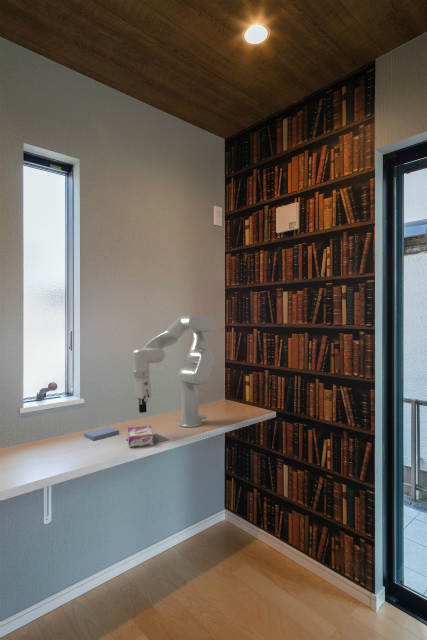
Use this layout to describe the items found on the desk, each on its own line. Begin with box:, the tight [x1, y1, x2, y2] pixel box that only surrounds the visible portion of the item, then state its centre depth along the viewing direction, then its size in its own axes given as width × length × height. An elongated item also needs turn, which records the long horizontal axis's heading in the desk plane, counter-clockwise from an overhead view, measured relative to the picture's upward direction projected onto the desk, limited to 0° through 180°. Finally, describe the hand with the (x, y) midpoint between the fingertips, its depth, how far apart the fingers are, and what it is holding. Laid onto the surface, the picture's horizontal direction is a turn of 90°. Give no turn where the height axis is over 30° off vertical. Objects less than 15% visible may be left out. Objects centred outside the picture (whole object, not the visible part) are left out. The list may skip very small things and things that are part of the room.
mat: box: [125, 432, 169, 448], centre depth 177 cm, size 16×14×1 cm
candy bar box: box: [127, 425, 154, 448], centre depth 175 cm, size 11×5×16 cm
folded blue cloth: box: [83, 426, 120, 441], centre depth 187 cm, size 14×10×2 cm
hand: (142, 412), depth 180 cm, fingers closed
